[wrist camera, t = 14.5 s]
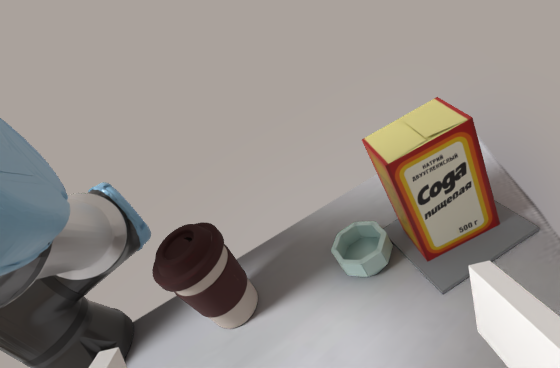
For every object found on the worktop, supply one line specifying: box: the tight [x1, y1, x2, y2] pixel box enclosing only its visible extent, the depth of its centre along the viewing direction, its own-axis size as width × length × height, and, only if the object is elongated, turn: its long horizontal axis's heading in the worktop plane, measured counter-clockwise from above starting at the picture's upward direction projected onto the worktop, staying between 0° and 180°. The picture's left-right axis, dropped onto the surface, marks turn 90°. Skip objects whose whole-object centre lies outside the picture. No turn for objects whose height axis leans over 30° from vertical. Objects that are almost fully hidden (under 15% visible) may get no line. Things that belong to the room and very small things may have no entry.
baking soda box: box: [362, 97, 500, 262], centre depth 45 cm, size 10×6×16 cm
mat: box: [383, 200, 539, 294], centre depth 49 cm, size 13×13×1 cm
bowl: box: [331, 221, 393, 277], centre depth 51 cm, size 7×7×4 cm
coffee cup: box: [153, 223, 258, 329], centre depth 53 cm, size 10×10×15 cm
